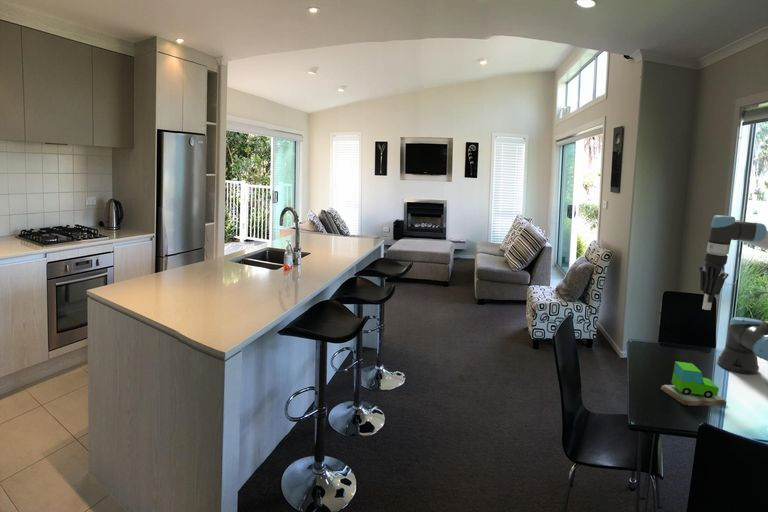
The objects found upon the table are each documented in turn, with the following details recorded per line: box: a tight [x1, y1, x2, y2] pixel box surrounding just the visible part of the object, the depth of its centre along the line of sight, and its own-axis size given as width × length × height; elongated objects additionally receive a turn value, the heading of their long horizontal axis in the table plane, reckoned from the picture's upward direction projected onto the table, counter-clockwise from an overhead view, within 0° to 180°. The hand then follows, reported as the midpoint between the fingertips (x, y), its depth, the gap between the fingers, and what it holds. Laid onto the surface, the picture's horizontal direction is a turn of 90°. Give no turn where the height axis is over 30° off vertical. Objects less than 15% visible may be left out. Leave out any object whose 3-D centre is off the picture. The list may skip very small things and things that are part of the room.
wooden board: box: [660, 384, 727, 406], centre depth 188 cm, size 17×13×2 cm
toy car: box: [671, 361, 720, 398], centre depth 186 cm, size 10×13×10 cm
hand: (706, 309), depth 203 cm, fingers closed
